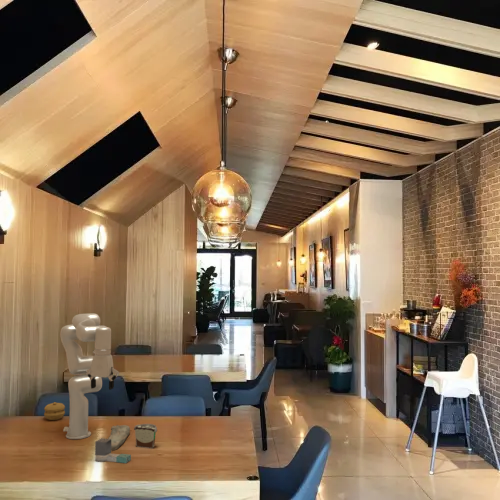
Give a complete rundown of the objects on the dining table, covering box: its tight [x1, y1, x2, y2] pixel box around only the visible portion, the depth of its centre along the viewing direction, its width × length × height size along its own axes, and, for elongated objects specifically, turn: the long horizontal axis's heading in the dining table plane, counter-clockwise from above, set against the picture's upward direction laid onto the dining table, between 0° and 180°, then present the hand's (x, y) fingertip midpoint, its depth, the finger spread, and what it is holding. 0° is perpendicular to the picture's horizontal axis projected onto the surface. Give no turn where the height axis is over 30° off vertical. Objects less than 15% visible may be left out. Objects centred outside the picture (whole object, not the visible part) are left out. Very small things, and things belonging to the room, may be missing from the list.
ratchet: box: [94, 452, 132, 464], centre depth 233 cm, size 16×7×7 cm, turn 75°
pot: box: [43, 401, 66, 421], centre depth 303 cm, size 12×12×10 cm
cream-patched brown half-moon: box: [133, 423, 158, 450], centre depth 254 cm, size 12×6×10 cm, turn 71°
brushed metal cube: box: [94, 437, 112, 456], centre depth 235 cm, size 5×5×6 cm
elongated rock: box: [107, 424, 131, 452], centre depth 263 cm, size 35×5×10 cm
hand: (102, 388), depth 245 cm, fingers open, 9 cm apart
